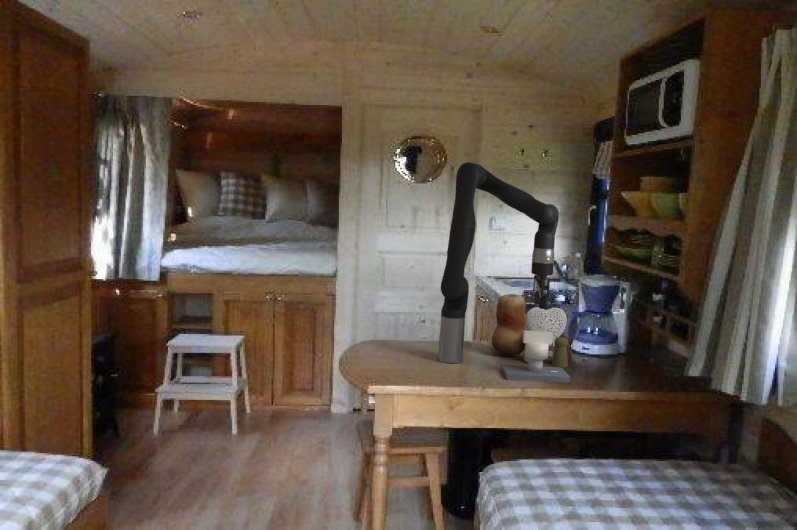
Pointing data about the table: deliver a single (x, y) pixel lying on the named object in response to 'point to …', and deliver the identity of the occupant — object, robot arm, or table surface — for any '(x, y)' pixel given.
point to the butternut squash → (509, 325)
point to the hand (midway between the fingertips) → (539, 306)
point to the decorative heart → (548, 324)
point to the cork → (560, 352)
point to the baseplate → (535, 372)
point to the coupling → (537, 344)
